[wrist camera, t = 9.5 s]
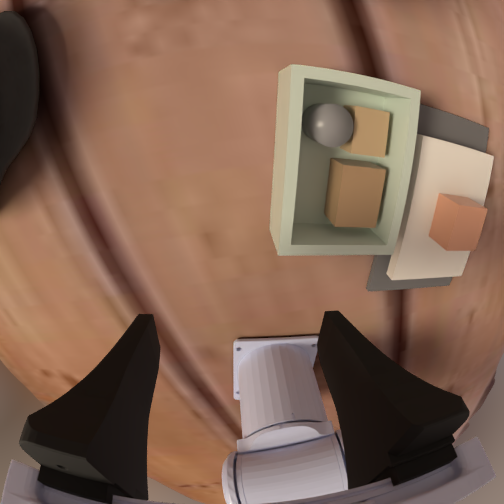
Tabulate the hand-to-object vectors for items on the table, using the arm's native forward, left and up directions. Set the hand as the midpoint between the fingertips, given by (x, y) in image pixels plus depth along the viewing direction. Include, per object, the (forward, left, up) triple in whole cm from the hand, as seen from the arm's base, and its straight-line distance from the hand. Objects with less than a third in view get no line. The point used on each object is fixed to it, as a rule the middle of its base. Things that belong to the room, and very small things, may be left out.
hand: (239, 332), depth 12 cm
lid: (+3, -17, -10) cm, 19 cm away
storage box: (+6, -7, -10) cm, 14 cm away
